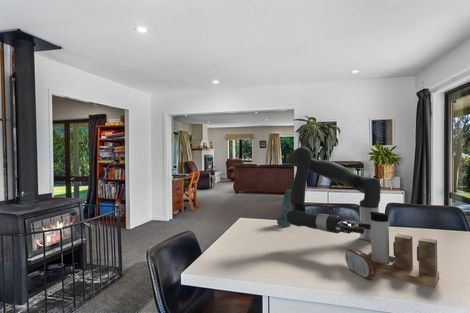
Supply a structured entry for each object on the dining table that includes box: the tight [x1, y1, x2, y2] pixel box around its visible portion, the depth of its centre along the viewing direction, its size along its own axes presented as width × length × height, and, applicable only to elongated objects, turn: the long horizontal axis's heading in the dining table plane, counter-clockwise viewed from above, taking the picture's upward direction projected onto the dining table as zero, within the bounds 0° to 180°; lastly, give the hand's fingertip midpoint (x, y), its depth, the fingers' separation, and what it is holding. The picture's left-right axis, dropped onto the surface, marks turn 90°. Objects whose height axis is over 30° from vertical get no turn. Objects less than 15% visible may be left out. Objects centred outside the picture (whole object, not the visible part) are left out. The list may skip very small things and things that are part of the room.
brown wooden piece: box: [366, 233, 440, 288], centre depth 106 cm, size 24×11×14 cm, turn 47°
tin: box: [344, 247, 377, 280], centre depth 105 cm, size 15×3×8 cm, turn 12°
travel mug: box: [370, 212, 390, 264], centre depth 110 cm, size 6×7×20 cm
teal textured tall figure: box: [276, 188, 292, 228], centre depth 181 cm, size 14×10×25 cm
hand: (367, 229), depth 113 cm, fingers open, 8 cm apart
